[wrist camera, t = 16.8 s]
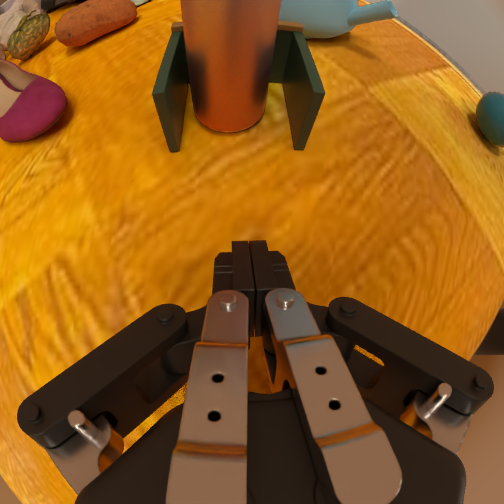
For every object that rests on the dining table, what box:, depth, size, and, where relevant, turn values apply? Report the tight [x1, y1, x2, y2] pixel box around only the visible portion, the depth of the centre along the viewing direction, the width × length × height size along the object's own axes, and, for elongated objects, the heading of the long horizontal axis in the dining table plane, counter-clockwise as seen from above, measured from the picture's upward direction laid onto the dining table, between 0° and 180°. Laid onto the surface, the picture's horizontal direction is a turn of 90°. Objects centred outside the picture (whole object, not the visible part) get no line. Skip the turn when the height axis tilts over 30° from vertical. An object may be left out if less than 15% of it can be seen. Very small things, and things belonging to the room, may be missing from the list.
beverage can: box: [181, 0, 282, 132], centre depth 14 cm, size 6×6×15 cm
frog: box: [0, 0, 50, 60], centre depth 21 cm, size 12×13×18 cm
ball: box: [476, 92, 504, 147], centre depth 21 cm, size 8×8×8 cm
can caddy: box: [152, 21, 325, 152], centre depth 18 cm, size 9×11×7 cm
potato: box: [55, 0, 137, 47], centre depth 22 cm, size 7×13×7 cm, turn 124°
